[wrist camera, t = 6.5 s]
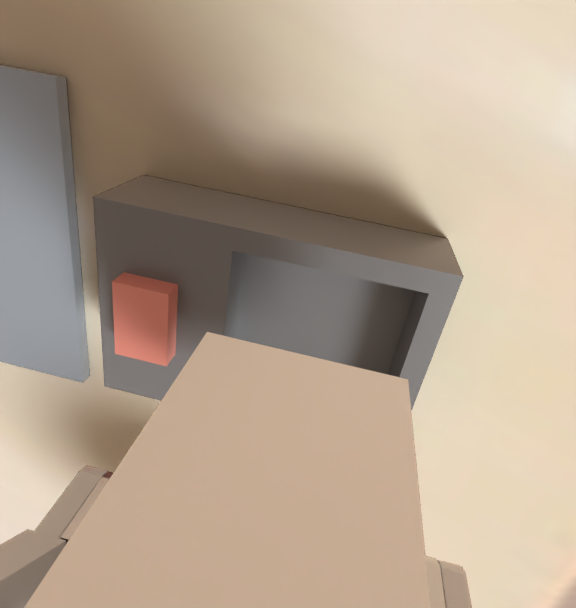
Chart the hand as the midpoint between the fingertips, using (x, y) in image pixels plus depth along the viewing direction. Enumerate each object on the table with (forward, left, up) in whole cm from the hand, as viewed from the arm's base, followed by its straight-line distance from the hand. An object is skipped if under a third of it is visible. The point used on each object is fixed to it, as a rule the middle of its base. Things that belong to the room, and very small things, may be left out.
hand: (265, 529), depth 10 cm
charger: (0, 0, -3) cm, 3 cm away
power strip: (0, +2, -10) cm, 11 cm away
